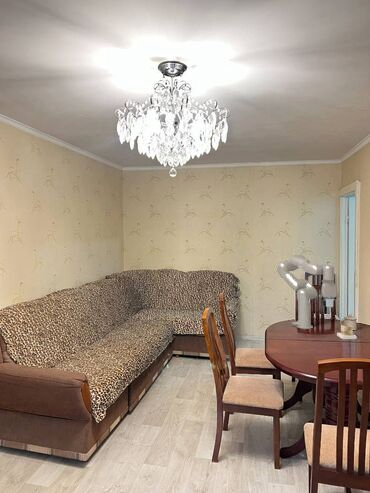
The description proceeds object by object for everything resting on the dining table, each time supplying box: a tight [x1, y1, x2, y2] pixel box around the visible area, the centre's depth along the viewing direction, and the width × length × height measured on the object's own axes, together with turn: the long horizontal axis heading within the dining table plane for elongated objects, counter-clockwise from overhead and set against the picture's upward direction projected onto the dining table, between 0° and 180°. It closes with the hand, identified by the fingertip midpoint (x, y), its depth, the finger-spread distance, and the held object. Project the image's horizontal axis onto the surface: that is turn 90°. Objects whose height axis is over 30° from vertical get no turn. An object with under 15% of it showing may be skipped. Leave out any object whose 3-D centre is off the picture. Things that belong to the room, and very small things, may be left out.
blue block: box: [325, 297, 334, 308], centre depth 276 cm, size 5×5×6 cm
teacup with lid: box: [339, 314, 357, 331], centre depth 288 cm, size 12×9×12 cm
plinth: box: [336, 332, 358, 340], centre depth 265 cm, size 10×10×2 cm
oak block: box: [340, 324, 354, 336], centre depth 265 cm, size 6×6×6 cm
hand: (328, 305), depth 276 cm, fingers closed on blue block, 5 cm apart
